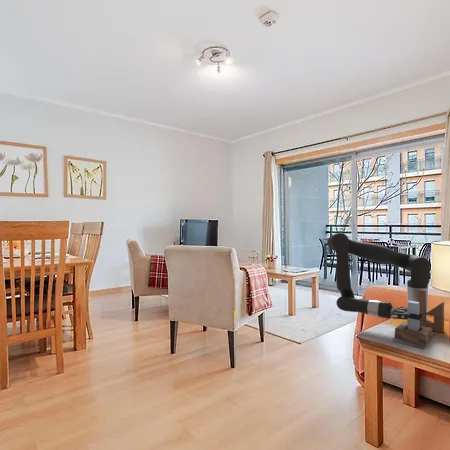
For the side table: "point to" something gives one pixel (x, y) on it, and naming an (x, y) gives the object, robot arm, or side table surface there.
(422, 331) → the wooden socket base
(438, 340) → the side table surface
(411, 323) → the rectangular block
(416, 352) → the side table surface
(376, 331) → the side table surface
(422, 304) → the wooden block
